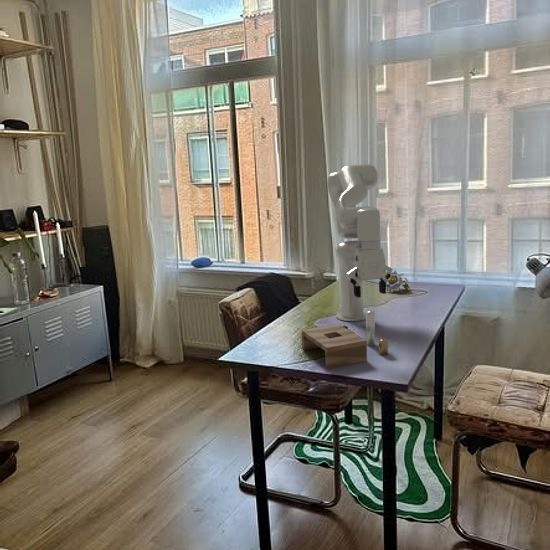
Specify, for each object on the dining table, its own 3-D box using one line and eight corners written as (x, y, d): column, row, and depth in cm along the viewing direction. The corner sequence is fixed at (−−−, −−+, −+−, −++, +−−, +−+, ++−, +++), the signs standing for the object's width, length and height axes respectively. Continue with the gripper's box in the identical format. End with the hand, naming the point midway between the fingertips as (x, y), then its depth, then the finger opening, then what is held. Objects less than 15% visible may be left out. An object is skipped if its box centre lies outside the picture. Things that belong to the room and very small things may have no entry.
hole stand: (302, 349, 184) (301, 330, 183) (338, 342, 189) (337, 323, 187) (327, 368, 166) (326, 347, 164) (366, 361, 170) (366, 340, 169)
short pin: (377, 353, 177) (376, 339, 176) (384, 351, 178) (384, 337, 177) (381, 356, 174) (381, 341, 173) (389, 354, 175) (389, 340, 174)
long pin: (364, 343, 186) (364, 311, 184) (372, 342, 187) (371, 309, 185) (369, 346, 184) (368, 313, 181) (376, 344, 184) (376, 311, 182)
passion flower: (392, 303, 255) (377, 284, 254) (395, 293, 264) (380, 275, 263) (411, 292, 249) (396, 272, 248) (414, 282, 258) (399, 263, 257)
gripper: (351, 249, 172) (353, 300, 175) (397, 244, 177) (398, 293, 180) (340, 246, 178) (342, 296, 182) (385, 241, 184) (386, 289, 187)
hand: (370, 294), depth 181 cm, fingers open, 9 cm apart
